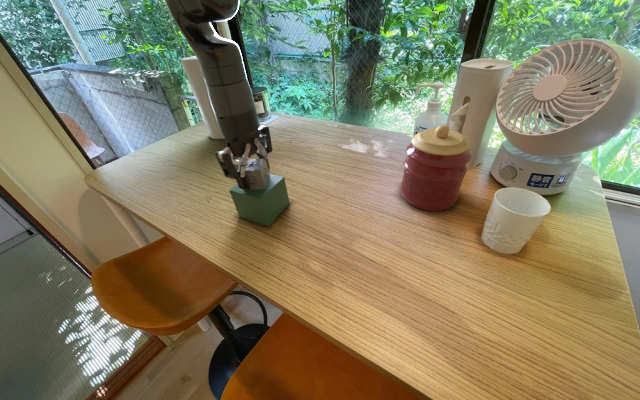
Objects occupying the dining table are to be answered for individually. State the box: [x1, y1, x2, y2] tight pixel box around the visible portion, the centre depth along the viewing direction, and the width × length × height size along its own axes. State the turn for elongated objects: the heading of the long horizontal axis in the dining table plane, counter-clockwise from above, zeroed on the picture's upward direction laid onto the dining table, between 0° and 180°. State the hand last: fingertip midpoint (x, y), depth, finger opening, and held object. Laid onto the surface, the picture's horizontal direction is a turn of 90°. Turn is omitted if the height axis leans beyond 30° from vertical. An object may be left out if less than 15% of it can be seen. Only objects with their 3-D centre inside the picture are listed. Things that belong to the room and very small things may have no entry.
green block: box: [228, 173, 290, 227], centre depth 60 cm, size 9×9×8 cm
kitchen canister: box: [400, 124, 473, 212], centre depth 56 cm, size 13×13×18 cm
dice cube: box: [238, 157, 270, 190], centre depth 56 cm, size 5×5×5 cm
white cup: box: [480, 186, 552, 255], centre depth 46 cm, size 8×8×10 cm
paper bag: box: [180, 55, 226, 140], centre depth 95 cm, size 19×15×28 cm
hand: (255, 180), depth 57 cm, fingers closed on dice cube, 6 cm apart
